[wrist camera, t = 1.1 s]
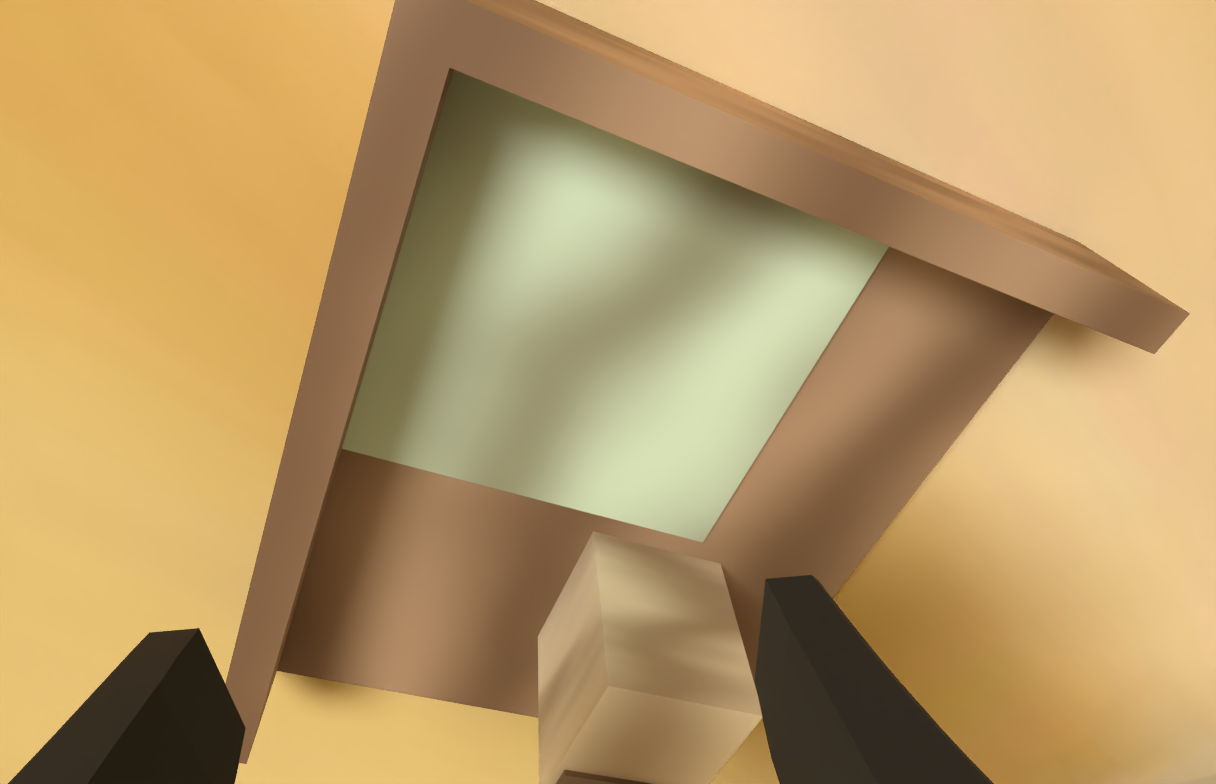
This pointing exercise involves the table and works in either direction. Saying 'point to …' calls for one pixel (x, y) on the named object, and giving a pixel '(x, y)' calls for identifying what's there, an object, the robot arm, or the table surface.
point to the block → (642, 670)
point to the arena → (617, 352)
